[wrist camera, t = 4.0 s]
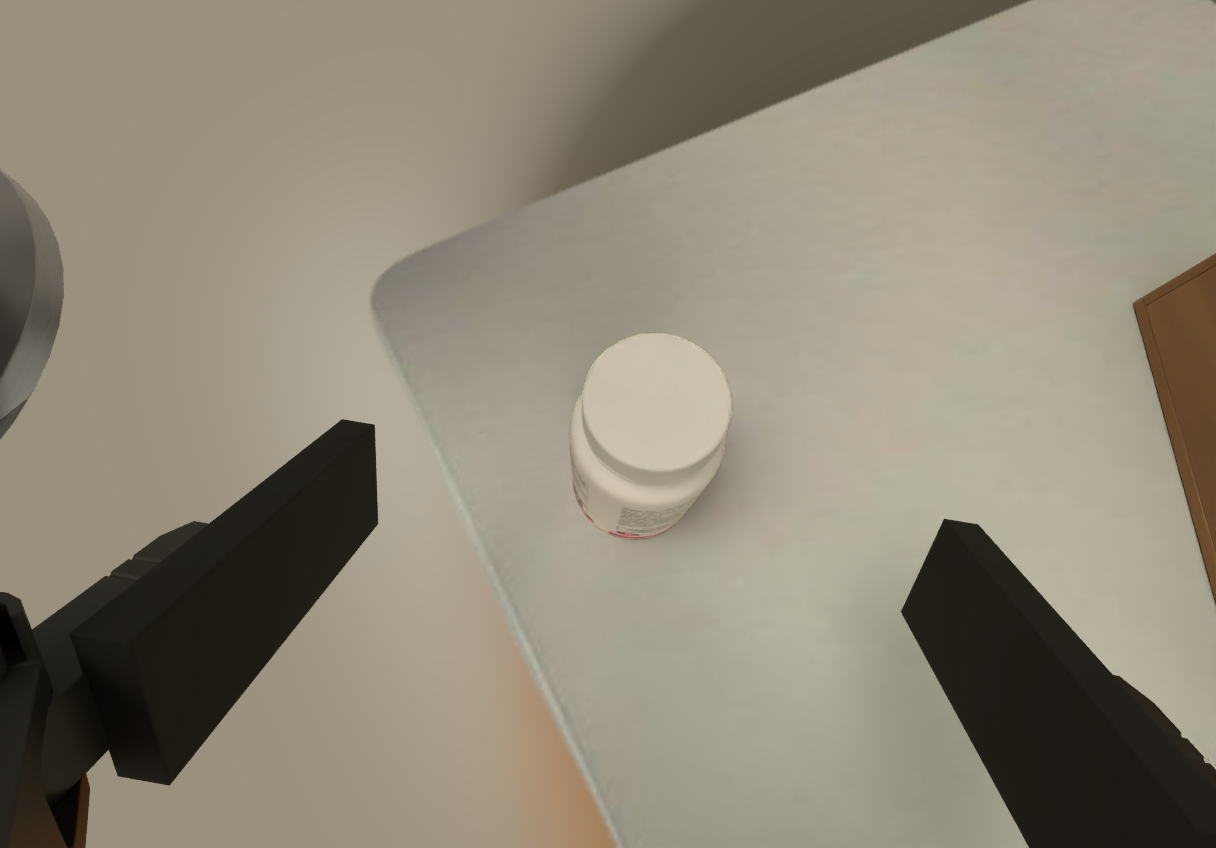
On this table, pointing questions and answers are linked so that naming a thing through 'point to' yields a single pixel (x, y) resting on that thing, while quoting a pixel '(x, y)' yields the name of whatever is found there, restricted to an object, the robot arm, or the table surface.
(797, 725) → the table surface
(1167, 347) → the carton
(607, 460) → the pill bottle
